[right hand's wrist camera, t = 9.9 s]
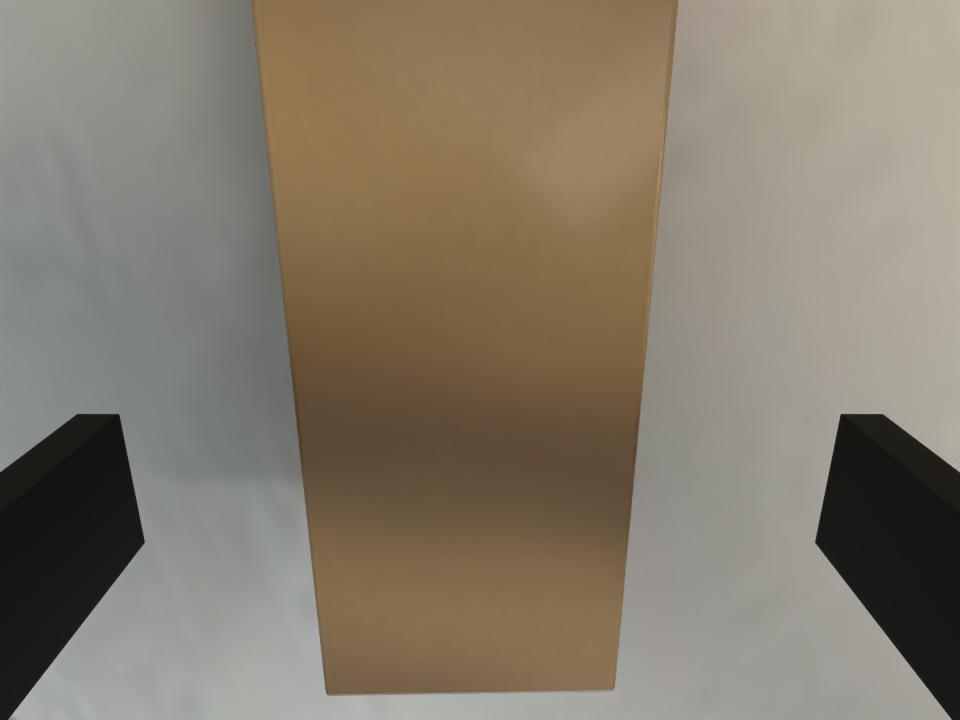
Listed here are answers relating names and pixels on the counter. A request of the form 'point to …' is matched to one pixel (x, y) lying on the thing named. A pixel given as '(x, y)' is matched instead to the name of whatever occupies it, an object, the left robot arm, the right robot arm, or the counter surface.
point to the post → (467, 324)
